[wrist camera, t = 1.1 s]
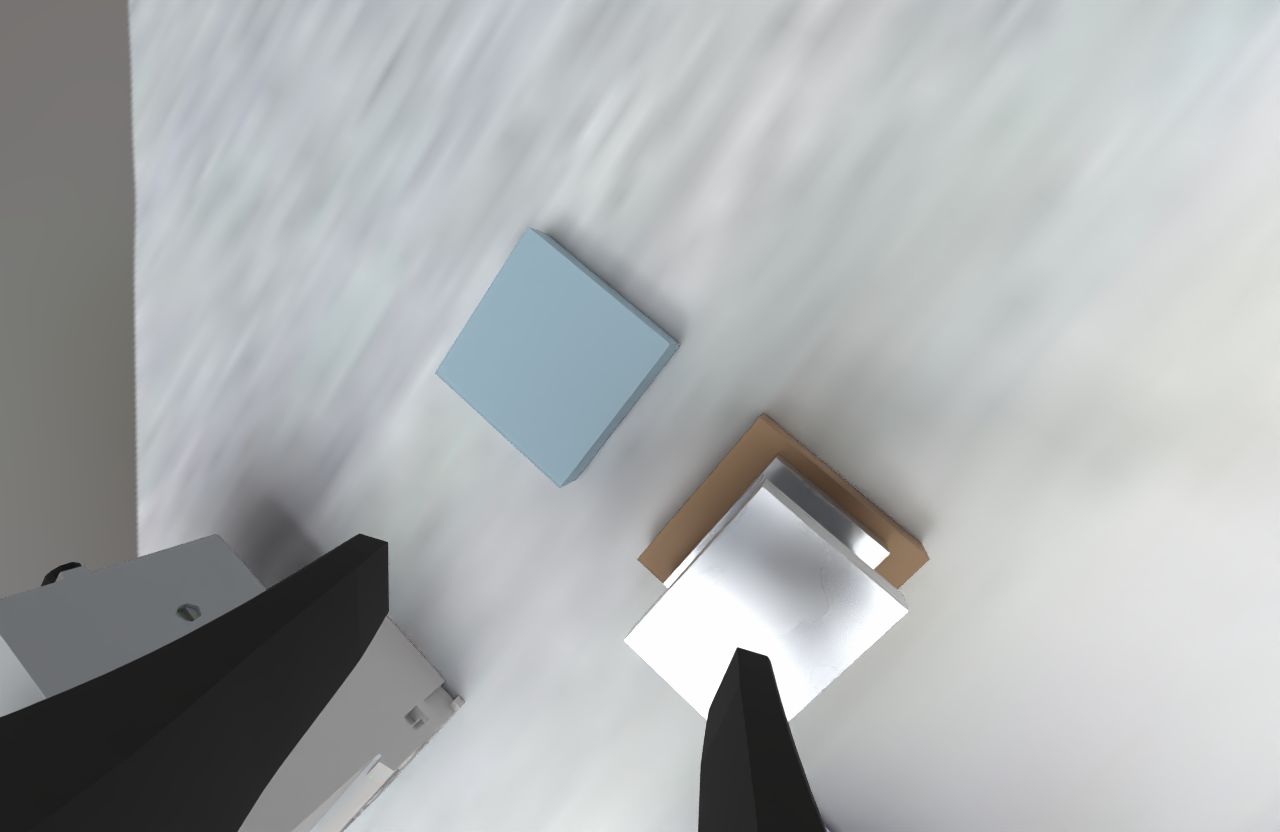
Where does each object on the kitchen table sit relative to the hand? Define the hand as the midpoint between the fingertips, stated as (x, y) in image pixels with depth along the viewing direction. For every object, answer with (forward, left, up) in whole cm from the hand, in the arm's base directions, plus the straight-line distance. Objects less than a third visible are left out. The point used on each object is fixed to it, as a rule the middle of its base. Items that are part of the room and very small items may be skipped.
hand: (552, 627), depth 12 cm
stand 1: (+7, -1, -11) cm, 13 cm away
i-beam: (-4, -1, -10) cm, 11 cm away
